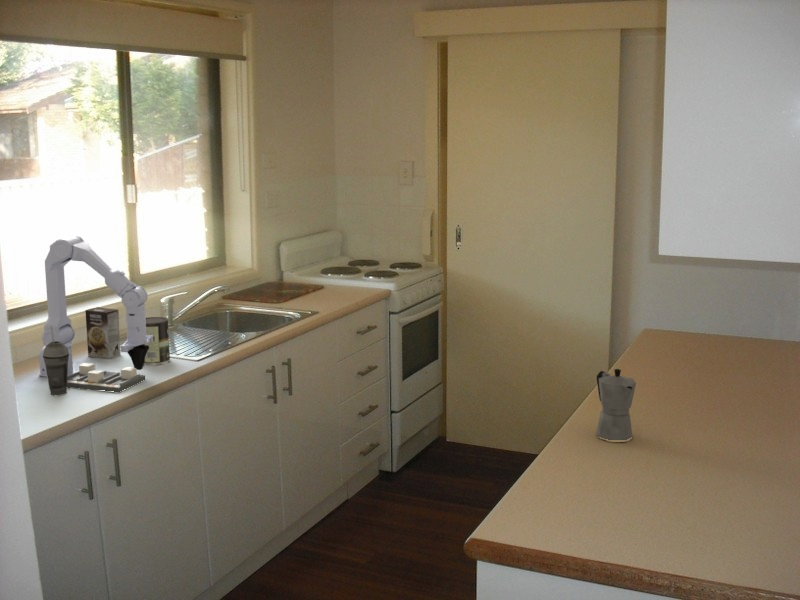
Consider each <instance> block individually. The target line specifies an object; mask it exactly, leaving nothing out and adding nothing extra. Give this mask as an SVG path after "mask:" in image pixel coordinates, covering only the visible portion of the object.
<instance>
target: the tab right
mask: <svg viewBox="0 0 800 600" xmlns="http://www.w3.org/2000/svg"><path fill="white" fill-rule="evenodd" d="M137 371H138V370H137V368H134V367H130V366H129V367H128V366H125V367H124V368H122V369H120V373H121V379H130V378H132V377H134V376H137V375H138V372H137Z"/></svg>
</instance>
